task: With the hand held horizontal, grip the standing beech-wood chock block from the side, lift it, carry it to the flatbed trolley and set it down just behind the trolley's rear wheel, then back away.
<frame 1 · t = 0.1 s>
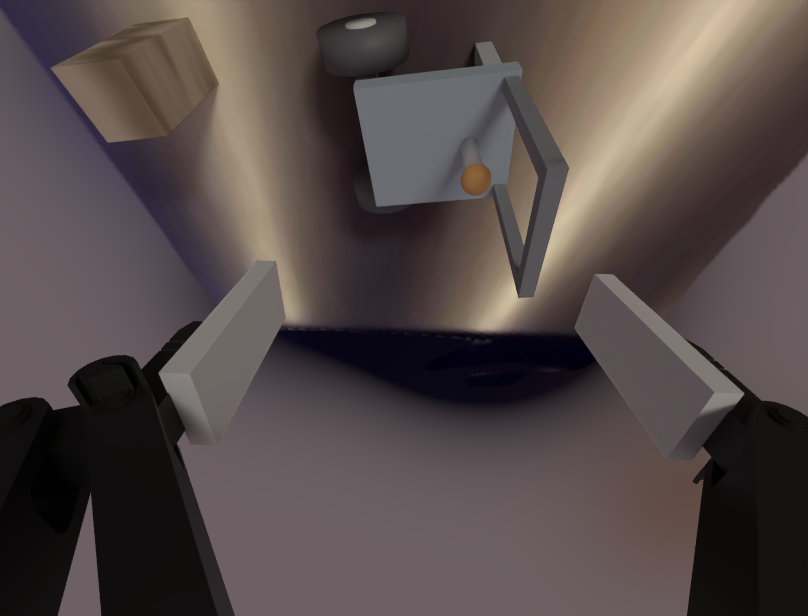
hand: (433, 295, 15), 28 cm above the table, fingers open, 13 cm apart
chock: (178, 55, 32), on the table
trolley: (414, 105, 35), on the table
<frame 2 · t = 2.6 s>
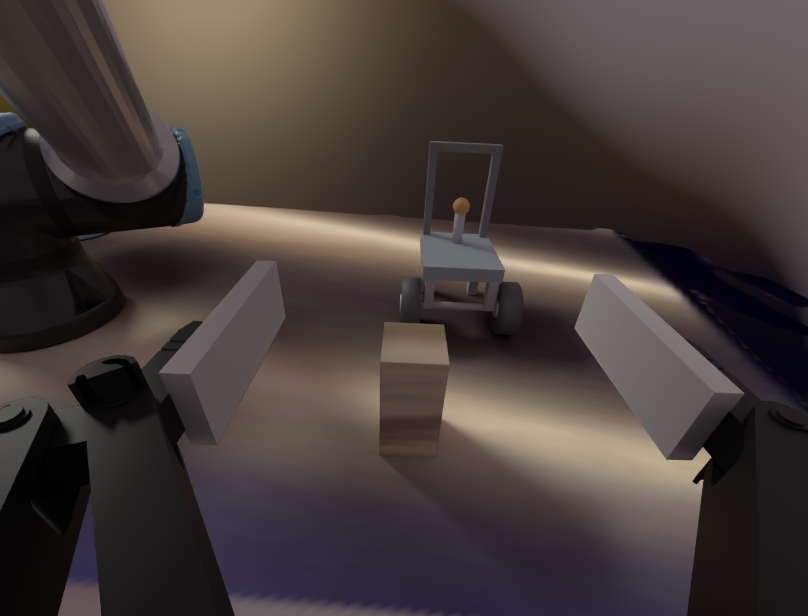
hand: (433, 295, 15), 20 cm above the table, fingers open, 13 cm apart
chock: (407, 432, 33), on the table
cocktail glass: (80, 233, 70), on the table
trolley: (451, 313, 51), on the table
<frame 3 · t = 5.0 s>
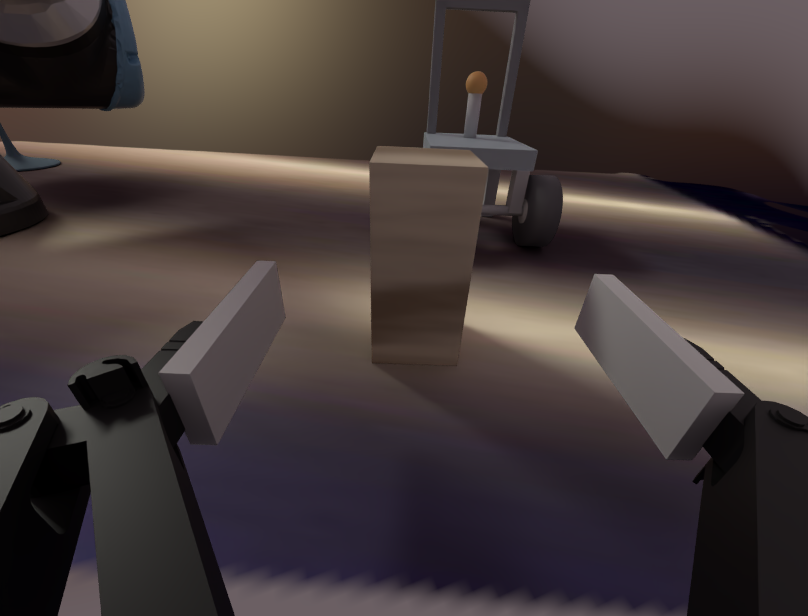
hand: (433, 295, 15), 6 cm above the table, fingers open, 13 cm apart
chock: (413, 338, 23), on the table
cocktail glass: (20, 167, 59), on the table
trolley: (464, 230, 40), on the table
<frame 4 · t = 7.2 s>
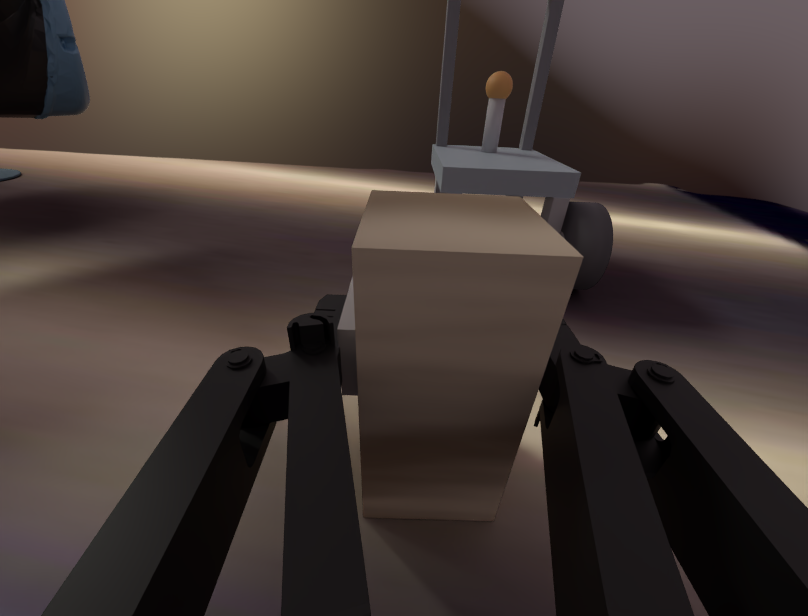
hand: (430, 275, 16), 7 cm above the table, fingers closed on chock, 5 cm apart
chock: (425, 460, 15), on the table, touching gripper
trolley: (481, 264, 33), on the table
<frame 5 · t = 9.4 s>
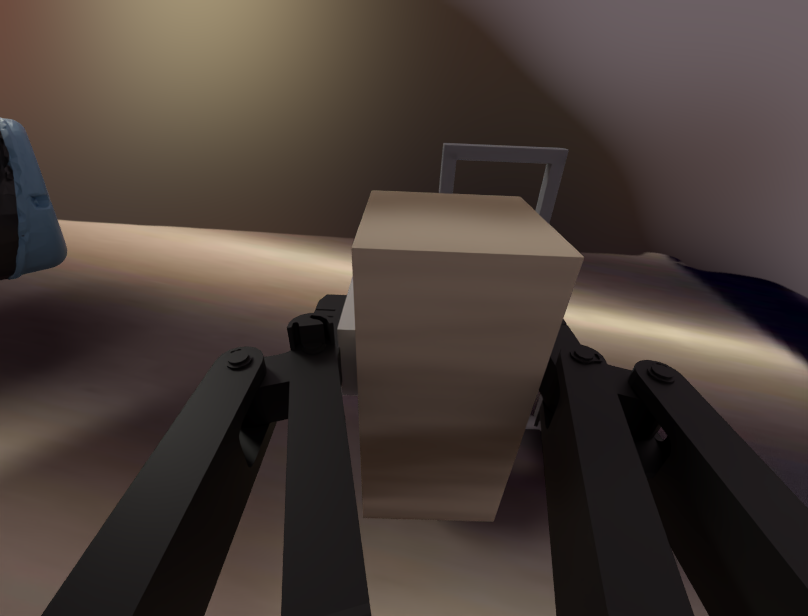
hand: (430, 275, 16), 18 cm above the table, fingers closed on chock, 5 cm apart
chock: (425, 460, 15), point 11 cm above the table, touching gripper
trolley: (478, 416, 32), on the table
when the fingers open (7 cm above the table, at t = 11.7 s): chock stays where it is, on the table.
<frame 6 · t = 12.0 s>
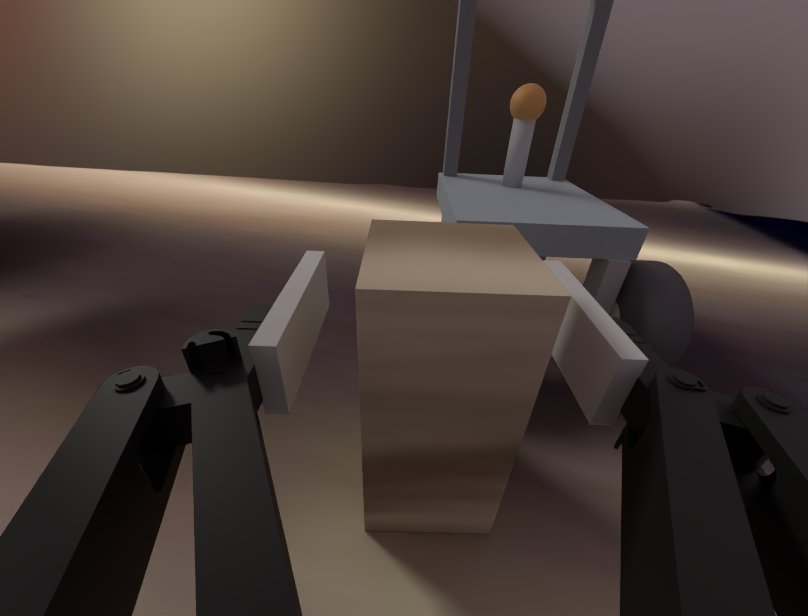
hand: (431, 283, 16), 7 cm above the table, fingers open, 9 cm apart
chock: (424, 473, 16), on the table
trolley: (501, 326, 26), on the table
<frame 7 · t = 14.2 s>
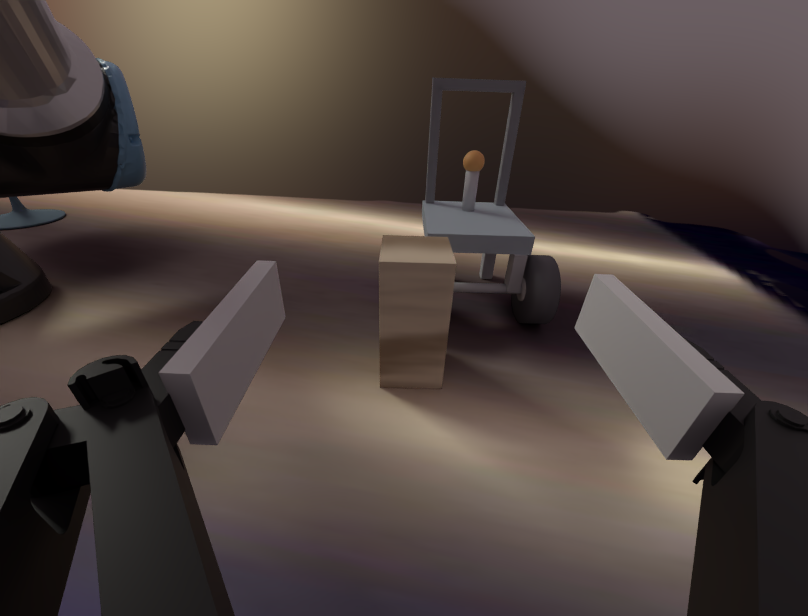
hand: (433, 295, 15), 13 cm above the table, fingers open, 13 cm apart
chock: (410, 367, 30), on the table
cocktail glass: (25, 220, 60), on the table
trolley: (463, 300, 41), on the table
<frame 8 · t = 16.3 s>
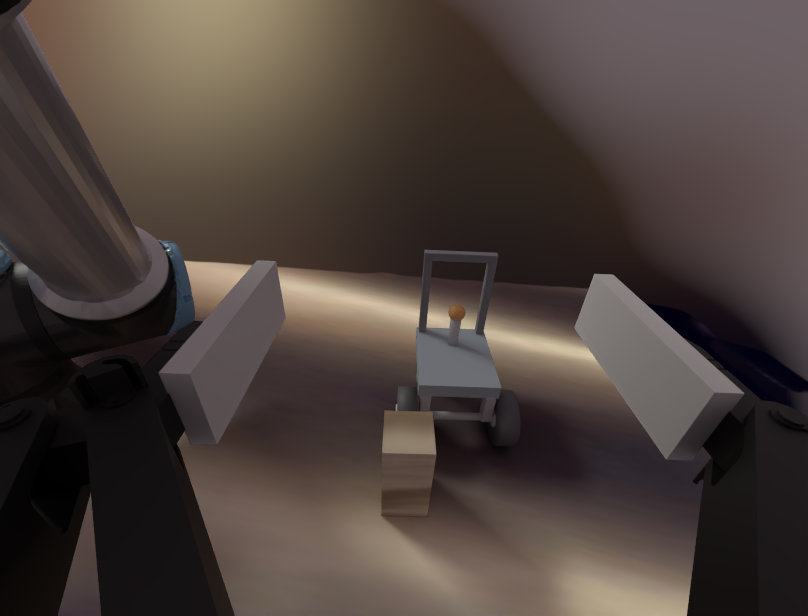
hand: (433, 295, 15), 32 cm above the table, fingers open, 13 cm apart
chock: (404, 493, 40), on the table
trolley: (448, 413, 50), on the table
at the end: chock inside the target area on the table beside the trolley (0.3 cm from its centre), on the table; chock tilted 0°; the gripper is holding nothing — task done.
